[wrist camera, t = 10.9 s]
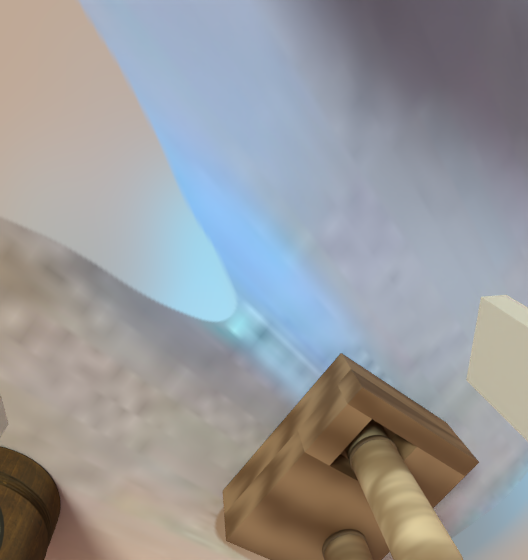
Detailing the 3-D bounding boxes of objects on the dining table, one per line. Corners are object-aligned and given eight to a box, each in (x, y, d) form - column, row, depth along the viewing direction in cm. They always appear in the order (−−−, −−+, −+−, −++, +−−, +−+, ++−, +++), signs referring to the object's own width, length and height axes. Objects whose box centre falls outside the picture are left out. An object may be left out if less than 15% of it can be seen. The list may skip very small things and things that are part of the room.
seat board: (341, 353, 43) (424, 486, 27) (446, 422, 48) (568, 570, 32) (222, 490, 47) (235, 679, 31) (331, 542, 52) (390, 726, 36)
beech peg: (360, 408, 42) (434, 537, 29) (393, 429, 43) (477, 560, 30) (330, 441, 43) (388, 581, 30) (363, 461, 44) (432, 602, 31)
